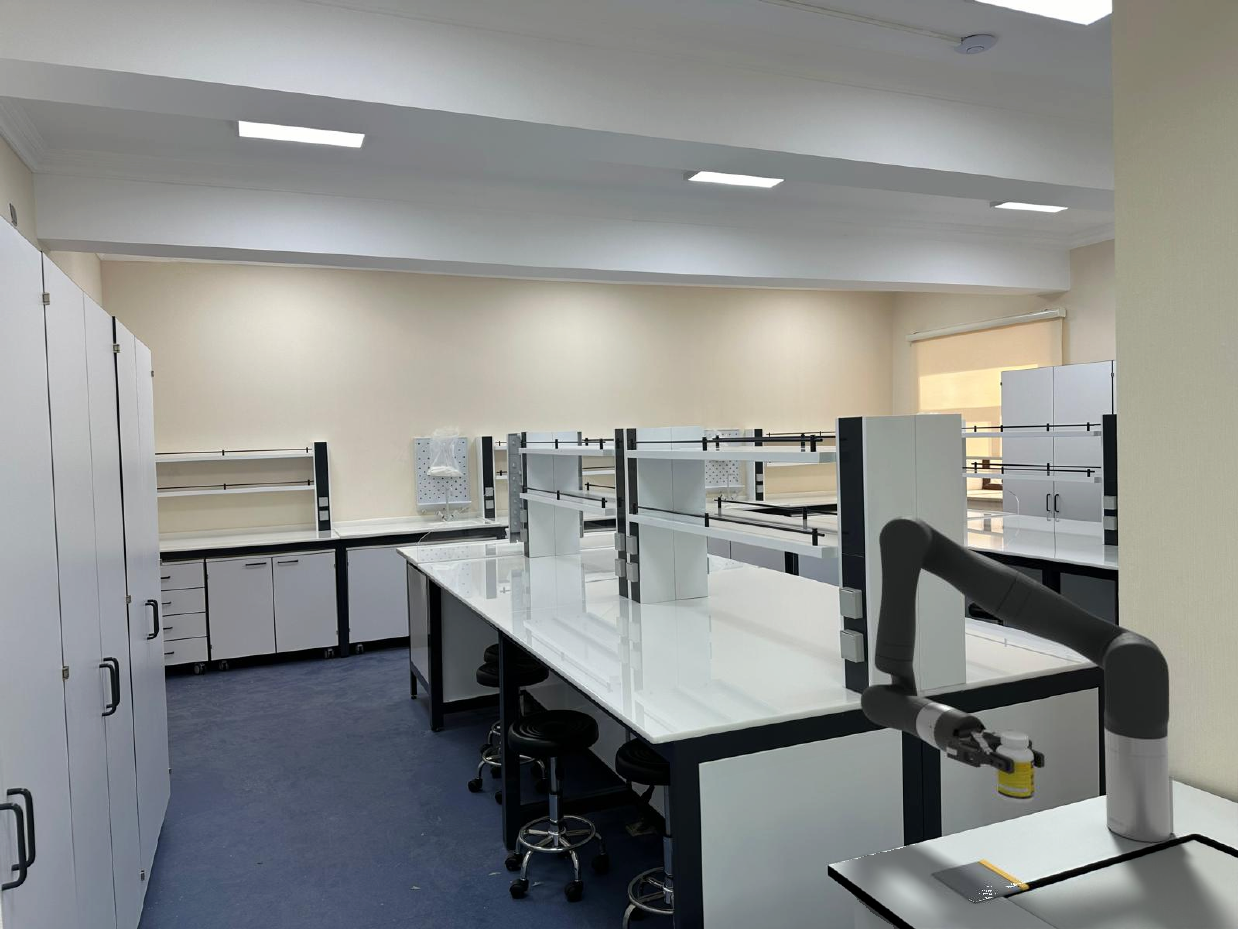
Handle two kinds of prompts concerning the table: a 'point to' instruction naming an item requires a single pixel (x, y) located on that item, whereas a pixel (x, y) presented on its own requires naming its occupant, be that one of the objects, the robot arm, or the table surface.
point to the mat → (979, 880)
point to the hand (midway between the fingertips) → (1027, 764)
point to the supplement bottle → (1016, 768)
